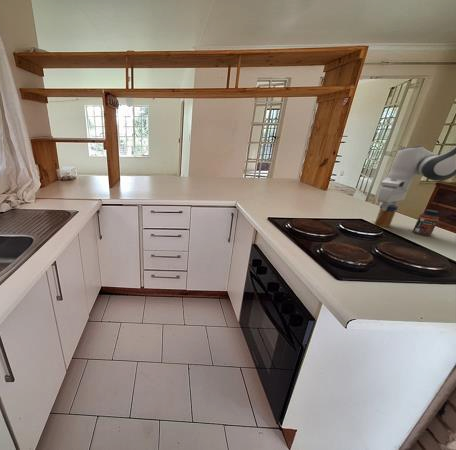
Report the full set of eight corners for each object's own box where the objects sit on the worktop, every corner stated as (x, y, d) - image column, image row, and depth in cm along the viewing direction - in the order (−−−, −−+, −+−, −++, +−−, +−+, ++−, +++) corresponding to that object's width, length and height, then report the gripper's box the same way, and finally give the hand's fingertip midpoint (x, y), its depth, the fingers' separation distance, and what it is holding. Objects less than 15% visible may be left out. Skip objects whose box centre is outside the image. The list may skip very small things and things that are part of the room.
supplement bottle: (416, 234, 108) (427, 211, 104) (409, 230, 113) (419, 208, 109) (434, 237, 106) (445, 213, 102) (425, 232, 111) (436, 209, 107)
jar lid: (377, 208, 118) (378, 204, 117) (384, 207, 120) (385, 203, 119) (392, 211, 113) (393, 207, 112) (399, 210, 115) (400, 206, 114)
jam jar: (383, 223, 122) (389, 205, 119) (392, 227, 117) (400, 209, 113) (371, 223, 122) (377, 205, 119) (380, 227, 117) (387, 208, 113)
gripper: (399, 179, 119) (388, 206, 124) (379, 181, 110) (369, 210, 115) (416, 181, 114) (404, 209, 118) (397, 184, 105) (385, 213, 110)
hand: (387, 209), depth 117 cm, fingers closed on jar lid, 6 cm apart
